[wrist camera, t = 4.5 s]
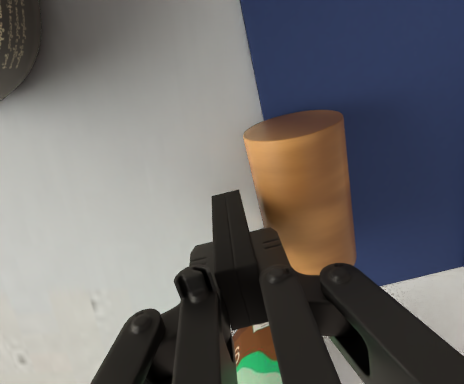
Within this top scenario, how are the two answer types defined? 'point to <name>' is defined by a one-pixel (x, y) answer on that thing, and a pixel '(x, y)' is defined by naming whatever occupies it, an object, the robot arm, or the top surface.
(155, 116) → the top surface
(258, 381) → the food container
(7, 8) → the jar
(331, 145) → the roller
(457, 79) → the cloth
